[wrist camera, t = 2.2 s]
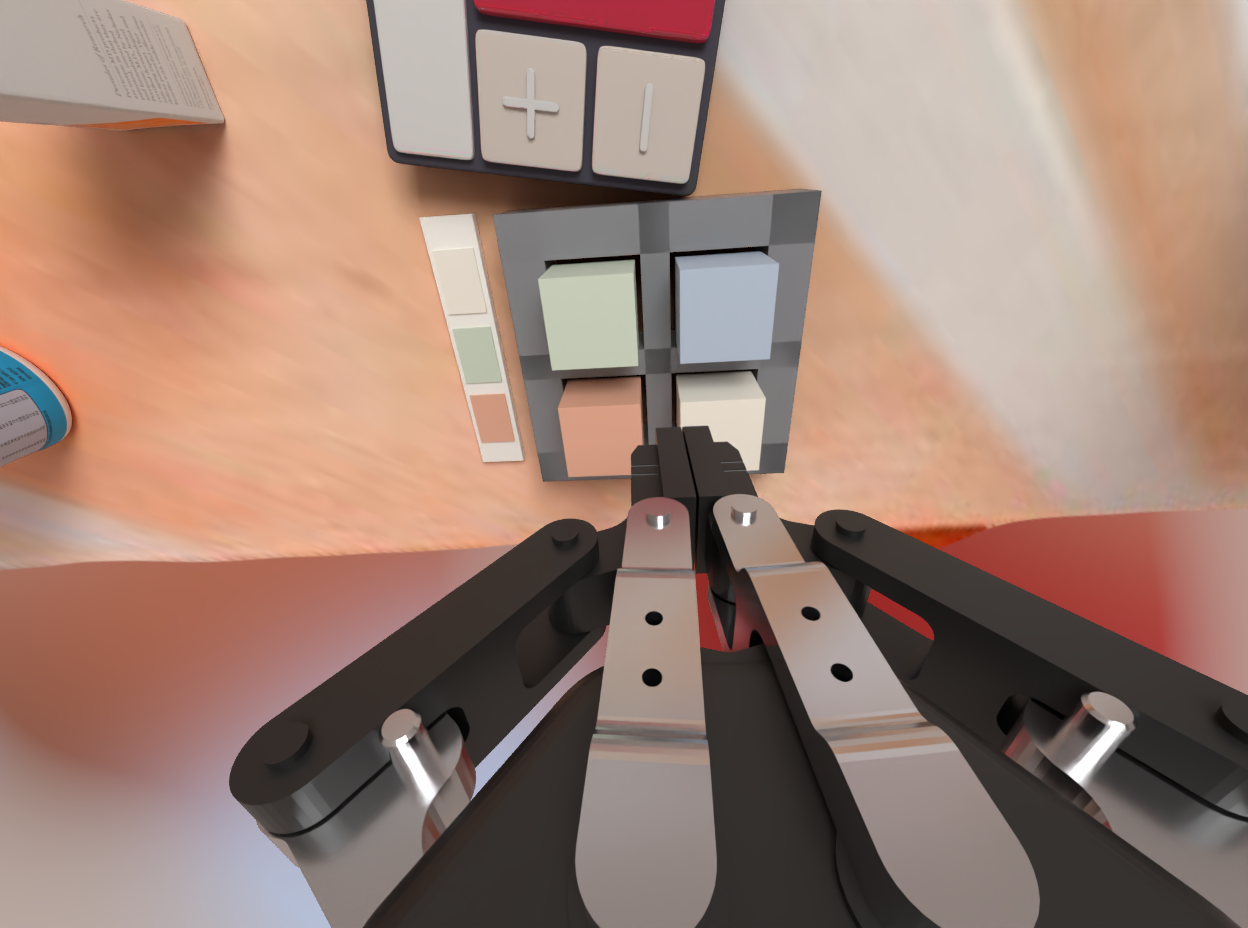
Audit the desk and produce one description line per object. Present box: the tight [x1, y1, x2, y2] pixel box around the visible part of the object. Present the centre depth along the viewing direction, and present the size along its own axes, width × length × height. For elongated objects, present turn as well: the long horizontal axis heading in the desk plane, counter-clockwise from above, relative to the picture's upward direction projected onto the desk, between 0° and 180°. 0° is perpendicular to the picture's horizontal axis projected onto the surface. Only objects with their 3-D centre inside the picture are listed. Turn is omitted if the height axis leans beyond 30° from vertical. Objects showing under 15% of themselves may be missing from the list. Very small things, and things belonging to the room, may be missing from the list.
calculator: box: [366, 0, 725, 196], centre depth 21 cm, size 11×4×15 cm
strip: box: [420, 213, 525, 462], centre depth 30 cm, size 3×16×1 cm, turn 4°
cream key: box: [676, 371, 766, 471], centre depth 27 cm, size 4×4×4 cm
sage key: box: [538, 259, 639, 370], centre depth 24 cm, size 4×4×4 cm
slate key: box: [675, 251, 779, 364], centre depth 24 cm, size 4×4×4 cm
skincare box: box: [0, 0, 224, 131], centre depth 19 cm, size 6×4×12 cm
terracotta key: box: [558, 376, 644, 477], centre depth 28 cm, size 4×4×4 cm
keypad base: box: [493, 189, 821, 482], centre depth 29 cm, size 16×16×4 cm
